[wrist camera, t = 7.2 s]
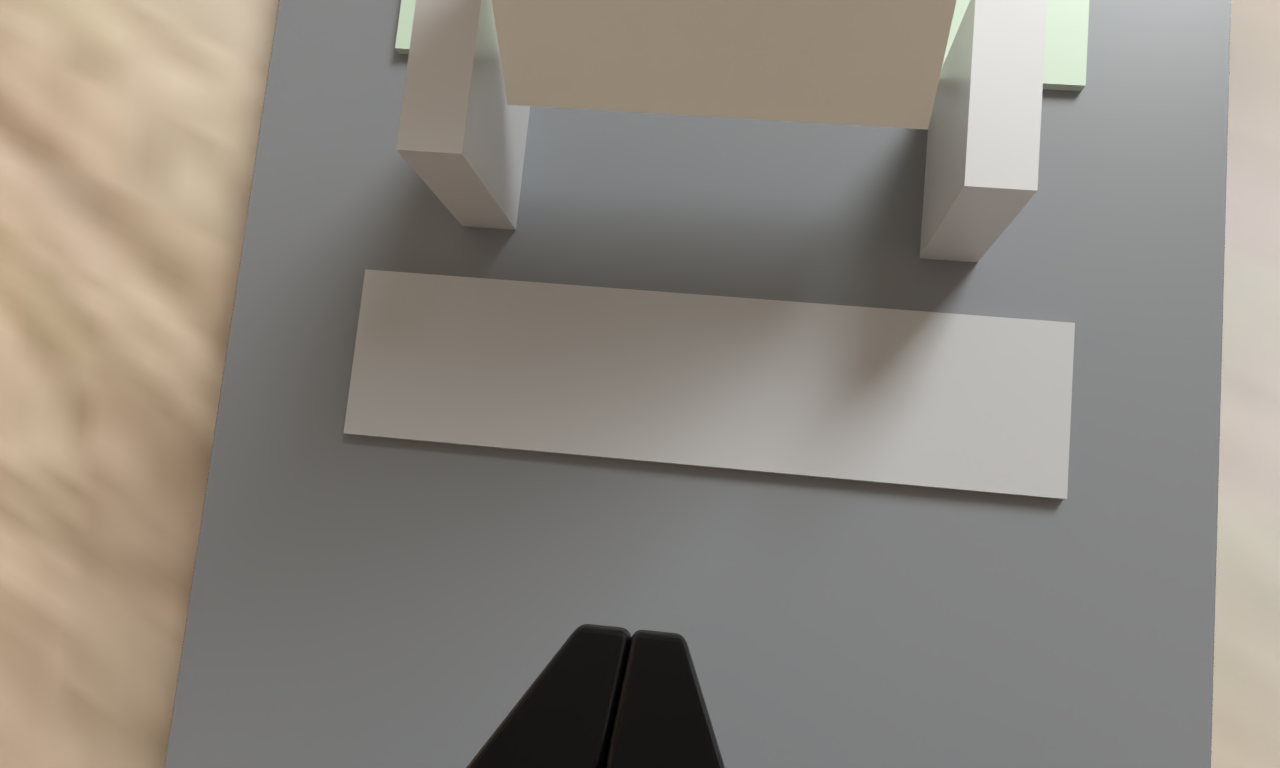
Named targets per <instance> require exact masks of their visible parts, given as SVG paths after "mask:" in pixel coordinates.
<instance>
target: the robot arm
mask: <svg viewBox="0 0 1280 768" xmlns="http://www.w3.org/2000/svg"><path fill="white" fill-rule="evenodd" d="M466 768H725V766H724V763H723V759H722V756H721V753H720V749H719V746H718V743H717V740H716V736H715V733H714V730H713V726H712V723H711V720H710V716H709V713H708V710H707V707H706V703H705V700H704V697H703V693H702V690H701V687H700V683H699V680H698V677H697V673H696V670H695V667H694V664H693V660H692V657H691V654H690V650H689V647H688V644H687V642H686V640H685V638H684V637H683V636H682V635H680V634H678V633H671V632H661V631H652V630H638V631H636V632H635V633H634V634H633V635H632V637H631V634H630V632H629V631H628V630H627V629H625V628H623V627H614V626H604V625H595V624H583V625H581V626H579V627H578V628H577V629H576V630H575V631H574V632H573V633H572V634H571V635H570V636H569V638H568V639H567V640H566V642H565V643H564V644H563V645H562V647H561V648H560V649H559V650H558V652H557V653H556V654H555V655H554V657H553V658H552V659H551V661H550V662H549V663H548V664H547V666H546V667H545V668H544V669H543V671H542V672H541V673H540V675H539V676H538V677H537V678H536V680H535V681H534V682H533V683H532V685H531V686H530V687H529V688H528V690H527V691H526V692H525V694H524V695H523V696H522V697H521V699H520V700H519V701H518V702H517V704H516V705H515V706H514V707H513V709H512V710H511V711H510V713H509V714H508V715H507V716H506V718H505V719H504V720H503V721H502V723H501V724H500V725H499V726H498V728H497V729H496V730H495V732H494V733H493V734H492V735H491V737H490V738H489V739H488V740H487V742H486V743H485V744H484V746H483V747H482V748H481V749H480V751H479V752H478V753H477V754H476V756H475V757H474V758H473V759H472V761H471V762H470V763H469V765H468V766H467V767H466Z"/></svg>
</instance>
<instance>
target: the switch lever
mask: <svg viewBox="0 0 1280 768" xmlns="http://www.w3.org/2000/svg"><path fill="white" fill-rule="evenodd" d="M491 1H492V7H493V14H494V20H495V27H496V34H497V40H498V47H499V53H500V60H501V67H502V73H503V80H504V86H505V93H506V100H507V105H519V106H536V107H553V108H570V109H587V110H604V111H621V112H638V113H655V114H672V115H689V116H705V117H722V118H739V119H756V120H773V121H790V122H807V123H824V124H841V125H858V126H875V127H892V128H909V129H926V130H928V128H929V124H930V119H931V115H932V110H933V106H934V101H935V96H936V92H937V87H938V83H939V78H940V74H941V69H942V65H943V60H944V55H945V51H946V46H947V42H948V37H949V33H950V28H951V24H952V19H953V14H954V10H955V5H956V1H957V0H491Z"/></svg>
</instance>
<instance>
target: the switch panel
mask: <svg viewBox="0 0 1280 768" xmlns="http://www.w3.org/2000/svg"><path fill="white" fill-rule="evenodd" d="M1230 22H1231V0H957V1H956V5H955V10H954V14H953V19H952V24H951V28H950V33H949V37H948V42H947V46H946V51H945V55H944V60H943V65H942V69H941V74H940V78H939V83H938V87H937V92H936V96H935V101H934V106H933V110H932V115H931V119H930V124H929V128H928V130H926V129H909V128H892V127H875V126H858V125H841V124H824V123H807V122H790V121H773V120H756V119H739V118H722V117H705V116H689V115H672V114H655V113H638V112H621V111H604V110H587V109H570V108H553V107H536V106H519V105H507V100H506V93H505V86H504V80H503V73H502V67H501V60H500V53H499V47H498V40H497V34H496V27H495V20H494V14H493V7H492V1H491V0H279V5H278V12H277V18H276V25H275V32H274V39H273V45H272V52H271V59H270V65H269V72H268V79H267V85H266V92H265V99H264V105H263V112H262V119H261V125H260V132H259V139H258V146H257V152H256V159H255V166H254V172H253V179H252V186H251V192H250V199H249V206H248V212H247V219H246V226H245V233H244V239H243V246H242V253H241V259H240V266H239V273H238V279H237V286H236V293H235V299H234V306H233V313H232V319H231V326H230V333H229V340H228V346H227V353H226V360H225V366H224V373H223V380H222V386H221V393H220V400H219V406H218V413H217V420H216V427H215V433H214V440H213V447H212V453H211V460H210V467H209V473H208V480H207V487H206V493H205V500H204V507H203V513H202V520H201V527H200V534H199V540H198V547H197V554H196V560H195V567H194V574H193V580H192V587H191V594H190V600H189V607H188V614H187V621H186V627H185V634H184V641H183V647H182V654H181V661H180V667H179V674H178V681H177V687H176V694H175V701H174V707H173V714H172V721H171V728H170V734H169V741H168V748H167V754H166V761H165V768H466V767H467V766H468V765H469V763H470V762H471V761H472V759H473V758H474V757H475V756H476V754H477V753H478V752H479V751H480V749H481V748H482V747H483V746H484V744H485V743H486V742H487V740H488V739H489V738H490V737H491V735H492V734H493V733H494V732H495V730H496V729H497V728H498V726H499V725H500V724H501V723H502V721H503V720H504V719H505V718H506V716H507V715H508V714H509V713H510V711H511V710H512V709H513V707H514V706H515V705H516V704H517V702H518V701H519V700H520V699H521V697H522V696H523V695H524V694H525V692H526V691H527V690H528V688H529V687H530V686H531V685H532V683H533V682H534V681H535V680H536V678H537V677H538V676H539V675H540V673H541V672H542V671H543V669H544V668H545V667H546V666H547V664H548V663H549V662H550V661H551V659H552V658H553V657H554V655H555V654H556V653H557V652H558V650H559V649H560V648H561V647H562V645H563V644H564V643H565V642H566V640H567V639H568V638H569V636H570V635H571V634H572V633H573V632H574V631H575V630H576V629H577V628H578V627H579V626H581V625H583V624H595V625H604V626H614V627H623V628H625V629H627V630H628V631H629V632H630V634H631V637H632V635H633V634H634V633H635V632H636V631H638V630H652V631H661V632H671V633H678V634H680V635H682V636H683V637H684V638H685V640H686V642H687V644H688V647H689V650H690V654H691V657H692V660H693V664H694V667H695V670H696V673H697V677H698V680H699V683H700V687H701V690H702V693H703V697H704V700H705V703H706V707H707V710H708V713H709V716H710V720H711V723H712V726H713V730H714V733H715V736H716V740H717V743H718V746H719V749H720V753H721V756H722V759H723V763H724V766H725V768H1211V739H1212V701H1213V664H1214V626H1215V588H1216V551H1217V513H1218V475H1219V437H1220V400H1221V362H1222V324H1223V287H1224V249H1225V211H1226V173H1227V136H1228V98H1229V60H1230Z"/></svg>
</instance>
